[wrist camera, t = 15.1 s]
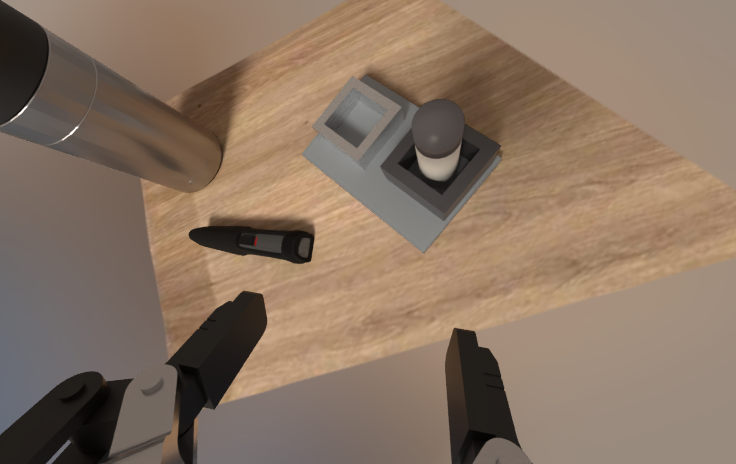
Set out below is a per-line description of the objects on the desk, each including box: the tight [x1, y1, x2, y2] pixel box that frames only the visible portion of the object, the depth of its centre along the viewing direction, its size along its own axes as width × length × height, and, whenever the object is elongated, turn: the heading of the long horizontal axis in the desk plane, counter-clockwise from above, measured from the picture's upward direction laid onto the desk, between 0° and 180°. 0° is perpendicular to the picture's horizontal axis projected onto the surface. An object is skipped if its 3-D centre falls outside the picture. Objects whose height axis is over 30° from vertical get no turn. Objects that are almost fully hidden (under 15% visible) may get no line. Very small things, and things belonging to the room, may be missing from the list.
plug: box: [412, 99, 465, 188], centre depth 24 cm, size 4×4×10 cm
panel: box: [302, 75, 502, 253], centre depth 30 cm, size 18×12×1 cm, turn 49°
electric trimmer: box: [189, 226, 314, 264], centre depth 33 cm, size 4×16×3 cm, turn 82°
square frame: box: [312, 76, 405, 170], centre depth 30 cm, size 7×7×2 cm
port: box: [380, 124, 501, 221], centre depth 27 cm, size 8×8×4 cm
